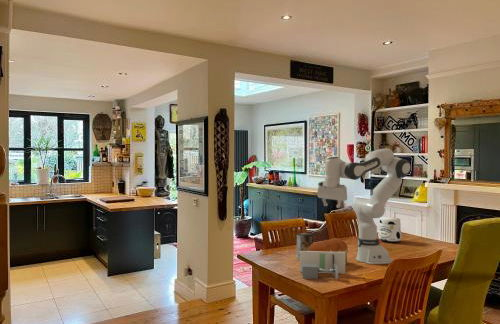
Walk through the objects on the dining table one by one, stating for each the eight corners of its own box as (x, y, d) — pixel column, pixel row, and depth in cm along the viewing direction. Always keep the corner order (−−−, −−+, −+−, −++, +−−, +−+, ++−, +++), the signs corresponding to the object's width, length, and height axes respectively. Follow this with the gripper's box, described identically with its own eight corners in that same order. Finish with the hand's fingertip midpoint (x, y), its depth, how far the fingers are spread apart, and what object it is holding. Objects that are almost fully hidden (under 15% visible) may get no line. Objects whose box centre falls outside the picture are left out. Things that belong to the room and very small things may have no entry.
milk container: (378, 242, 288) (378, 219, 288) (377, 238, 305) (378, 216, 305) (402, 244, 283) (402, 220, 283) (400, 239, 300) (400, 217, 300)
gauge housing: (344, 273, 212) (345, 252, 211) (348, 279, 200) (349, 257, 199) (299, 271, 213) (299, 250, 213) (300, 278, 201) (301, 256, 201)
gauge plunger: (334, 272, 210) (334, 254, 210) (338, 279, 199) (338, 260, 198) (314, 271, 211) (314, 253, 211) (316, 278, 199) (316, 259, 199)
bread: (331, 259, 241) (331, 236, 241) (348, 263, 232) (348, 239, 232) (306, 266, 225) (306, 241, 225) (322, 271, 216) (323, 245, 215)
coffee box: (309, 256, 246) (309, 232, 246) (313, 259, 240) (313, 234, 239) (296, 257, 243) (296, 233, 243) (300, 260, 237) (300, 235, 237)
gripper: (349, 184, 216) (349, 208, 216) (322, 182, 232) (322, 204, 232) (342, 185, 212) (342, 209, 212) (315, 182, 228) (315, 205, 228)
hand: (331, 206), depth 222 cm, fingers open, 8 cm apart
